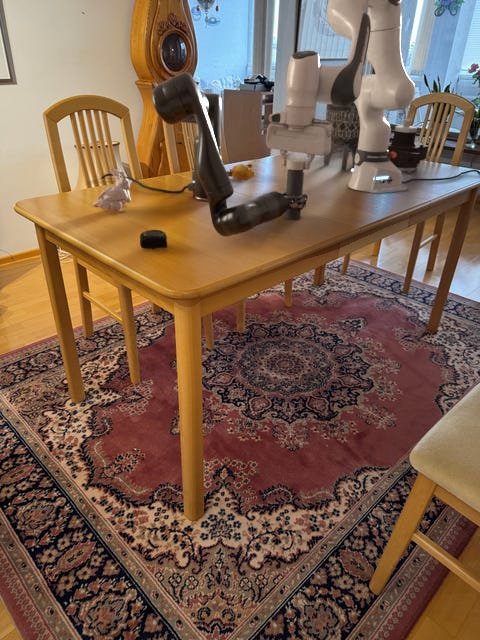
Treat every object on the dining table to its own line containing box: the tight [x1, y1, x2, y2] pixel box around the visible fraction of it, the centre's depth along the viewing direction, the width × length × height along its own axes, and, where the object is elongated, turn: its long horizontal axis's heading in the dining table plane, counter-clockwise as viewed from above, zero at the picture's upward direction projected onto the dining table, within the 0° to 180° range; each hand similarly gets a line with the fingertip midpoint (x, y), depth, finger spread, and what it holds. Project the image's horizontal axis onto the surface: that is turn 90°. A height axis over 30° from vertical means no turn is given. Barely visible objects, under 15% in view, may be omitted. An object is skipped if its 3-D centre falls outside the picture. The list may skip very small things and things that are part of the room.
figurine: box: [92, 167, 133, 213], centre depth 142 cm, size 8×15×13 cm, turn 145°
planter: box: [323, 102, 360, 172], centre depth 204 cm, size 20×20×26 cm
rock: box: [333, 147, 351, 154], centre depth 243 cm, size 13×9×6 cm, turn 131°
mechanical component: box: [388, 119, 430, 174], centre depth 205 cm, size 22×21×30 cm
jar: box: [284, 169, 305, 221], centre depth 139 cm, size 5×5×16 cm
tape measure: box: [139, 229, 168, 250], centre depth 117 cm, size 7×7×4 cm
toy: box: [226, 163, 256, 182], centre depth 185 cm, size 11×6×15 cm
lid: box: [285, 157, 308, 171], centre depth 135 cm, size 6×6×2 cm
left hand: (298, 195), depth 142 cm, fingers closed on jar, 5 cm apart
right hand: (295, 167), depth 135 cm, fingers closed on lid, 5 cm apart
